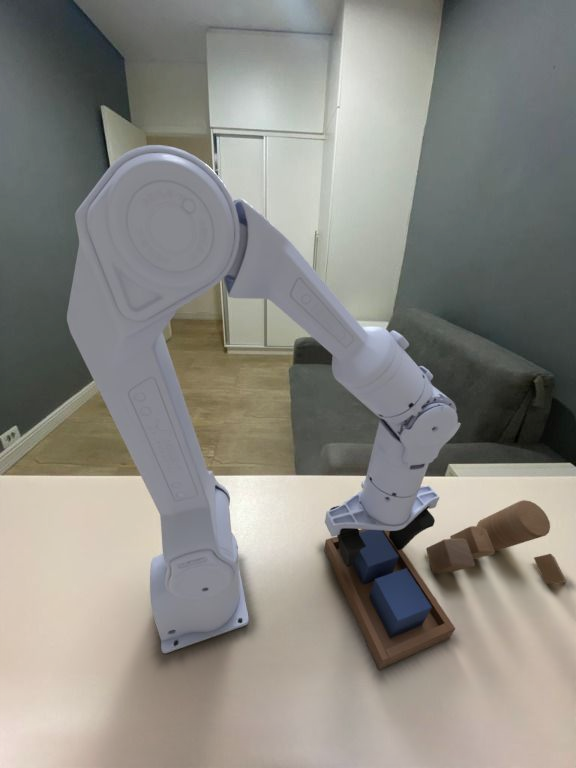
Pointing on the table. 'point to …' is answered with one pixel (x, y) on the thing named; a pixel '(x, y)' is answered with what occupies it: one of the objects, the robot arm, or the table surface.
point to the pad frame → (369, 621)
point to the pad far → (374, 556)
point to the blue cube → (399, 602)
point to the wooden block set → (496, 540)
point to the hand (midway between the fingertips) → (371, 551)
